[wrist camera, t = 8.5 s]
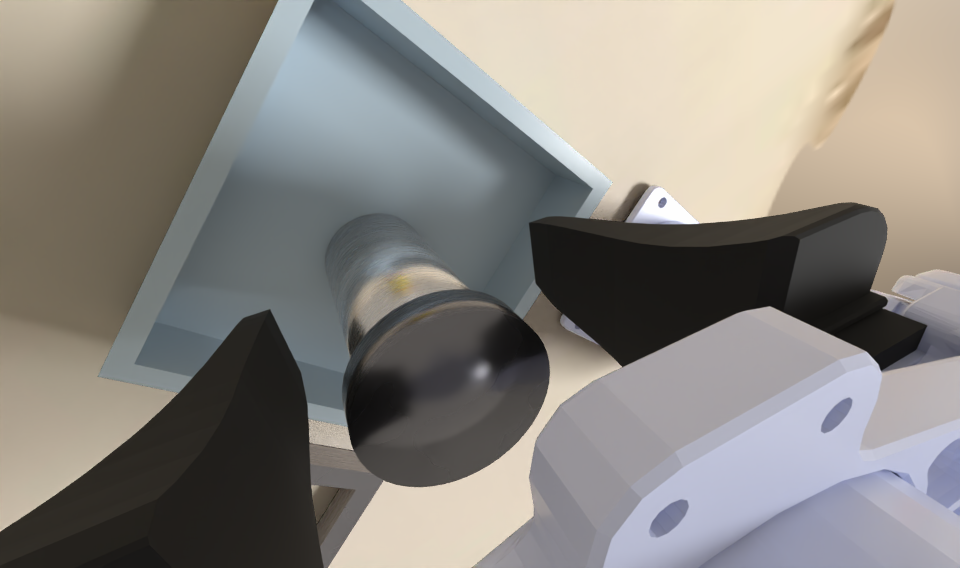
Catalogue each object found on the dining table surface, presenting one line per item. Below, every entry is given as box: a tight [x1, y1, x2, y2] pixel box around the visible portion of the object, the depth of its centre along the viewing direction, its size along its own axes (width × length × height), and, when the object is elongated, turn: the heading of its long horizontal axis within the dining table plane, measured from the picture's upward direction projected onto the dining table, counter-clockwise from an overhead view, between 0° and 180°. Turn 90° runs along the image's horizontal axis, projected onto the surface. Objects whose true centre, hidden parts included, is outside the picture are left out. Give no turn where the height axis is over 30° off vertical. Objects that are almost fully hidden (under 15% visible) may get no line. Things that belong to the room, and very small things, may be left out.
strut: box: [325, 213, 550, 487], centre depth 12 cm, size 4×4×8 cm
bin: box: [98, 0, 613, 427], centre depth 15 cm, size 11×12×3 cm
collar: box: [309, 444, 383, 568], centre depth 18 cm, size 7×7×1 cm
